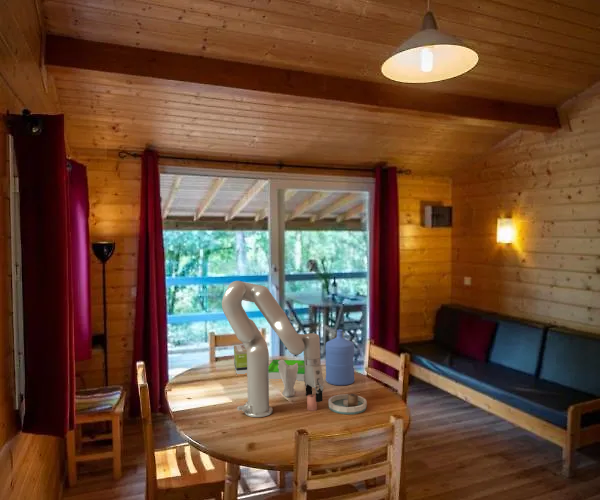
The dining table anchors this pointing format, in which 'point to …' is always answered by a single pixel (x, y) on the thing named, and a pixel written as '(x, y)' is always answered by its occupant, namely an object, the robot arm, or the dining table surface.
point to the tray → (301, 367)
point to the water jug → (339, 360)
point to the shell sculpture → (288, 377)
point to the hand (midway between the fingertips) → (314, 398)
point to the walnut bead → (352, 400)
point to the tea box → (240, 359)
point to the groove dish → (346, 405)
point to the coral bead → (311, 403)
